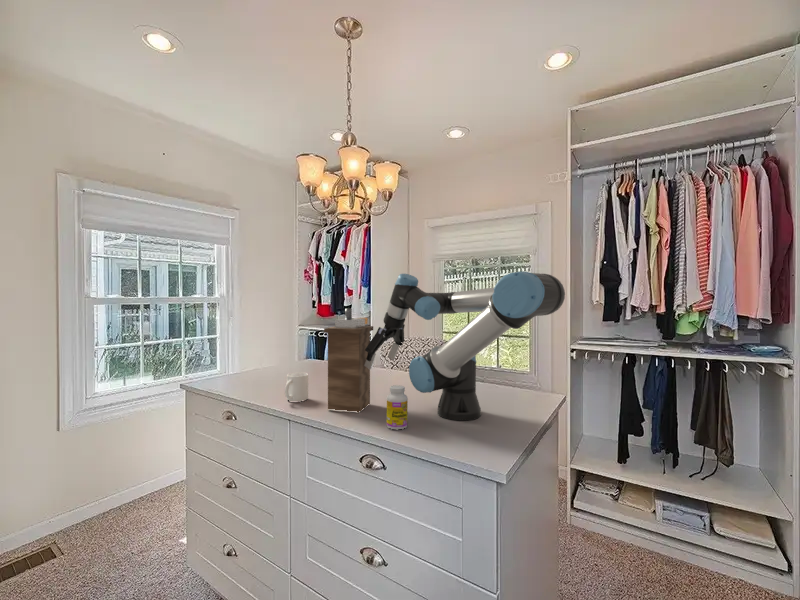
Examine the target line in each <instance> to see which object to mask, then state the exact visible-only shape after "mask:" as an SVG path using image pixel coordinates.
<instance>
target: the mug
mask: <svg viewBox="0 0 800 600" xmlns="http://www.w3.org/2000/svg"><path fill="white" fill-rule="evenodd" d="M284 395H285V398H286V400H289V401H302V400H306V399H308V400H309V373H307V372H291V373H287V374H286V384H285V386H284Z"/></svg>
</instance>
